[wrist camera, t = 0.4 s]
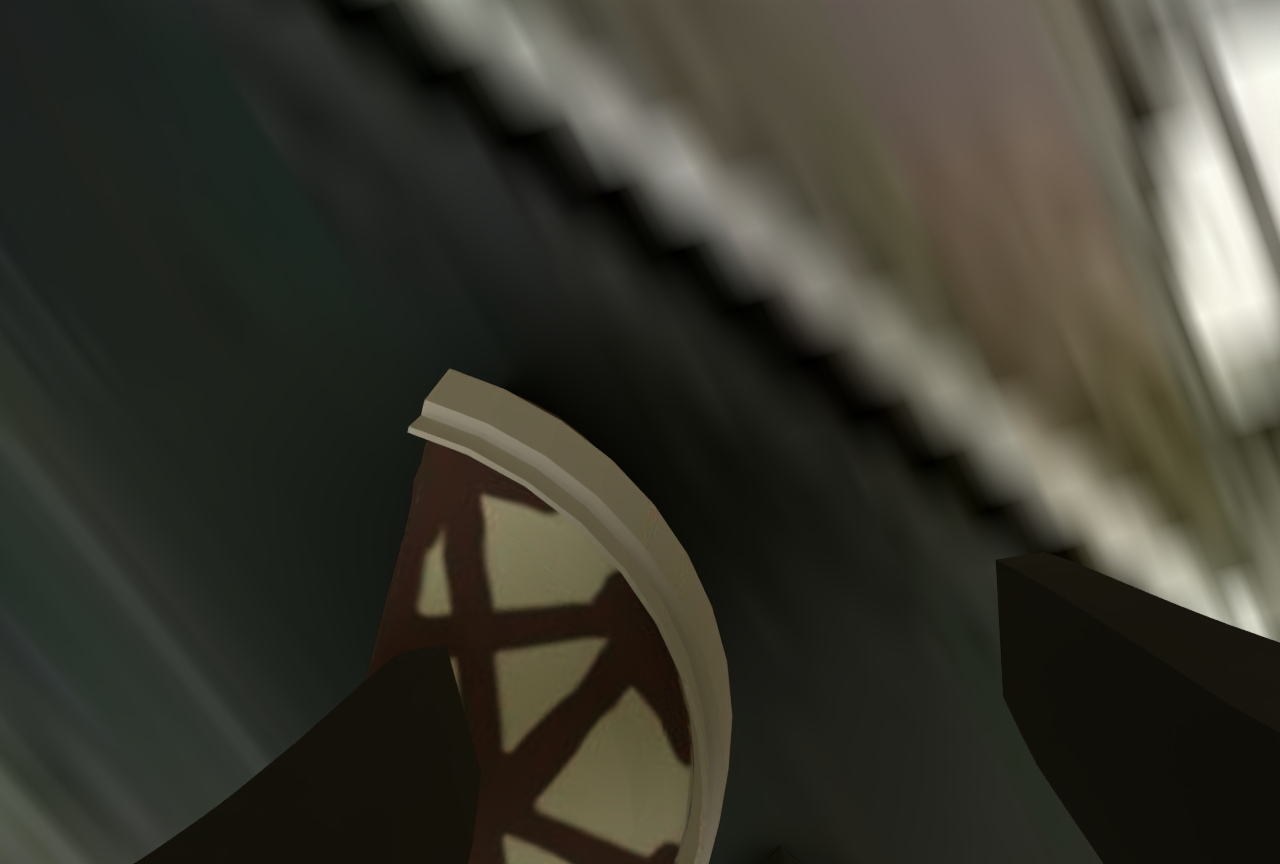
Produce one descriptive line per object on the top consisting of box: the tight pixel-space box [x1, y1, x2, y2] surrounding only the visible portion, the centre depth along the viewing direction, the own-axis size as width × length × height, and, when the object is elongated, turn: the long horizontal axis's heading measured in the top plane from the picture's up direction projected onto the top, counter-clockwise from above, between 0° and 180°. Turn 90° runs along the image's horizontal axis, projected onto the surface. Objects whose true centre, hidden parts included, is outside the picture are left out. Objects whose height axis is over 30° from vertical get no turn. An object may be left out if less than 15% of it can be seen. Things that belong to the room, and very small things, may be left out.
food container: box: [365, 369, 732, 864], centre depth 18 cm, size 12×6×10 cm, turn 163°
